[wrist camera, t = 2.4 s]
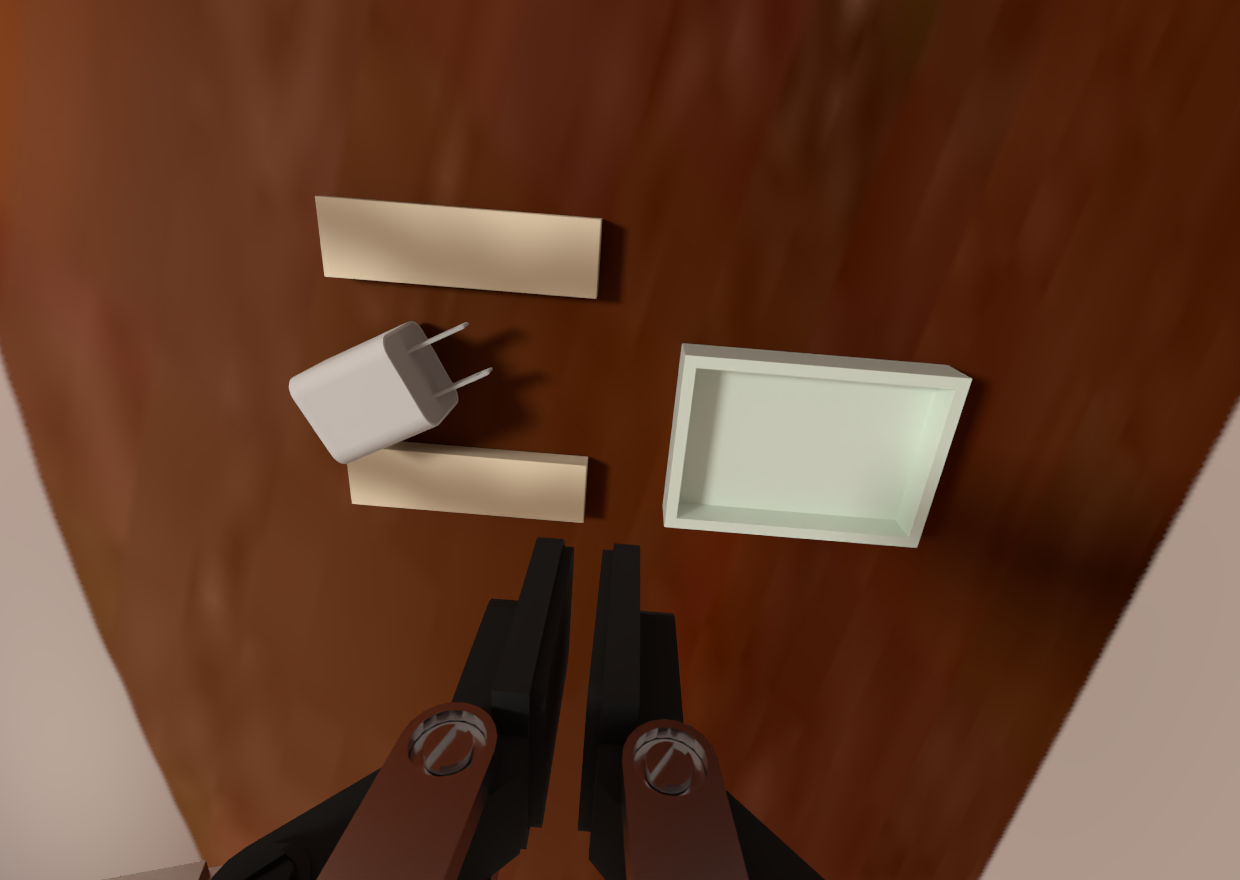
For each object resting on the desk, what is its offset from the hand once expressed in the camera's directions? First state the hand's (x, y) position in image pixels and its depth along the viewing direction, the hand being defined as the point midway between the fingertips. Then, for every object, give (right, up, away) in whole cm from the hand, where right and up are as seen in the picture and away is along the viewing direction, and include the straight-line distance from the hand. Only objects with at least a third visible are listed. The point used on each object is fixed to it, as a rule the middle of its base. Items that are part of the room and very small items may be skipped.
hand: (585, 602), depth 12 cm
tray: (+9, +3, +15) cm, 17 cm away
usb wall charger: (-8, +7, +14) cm, 18 cm away
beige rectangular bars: (-6, +6, +14) cm, 16 cm away
